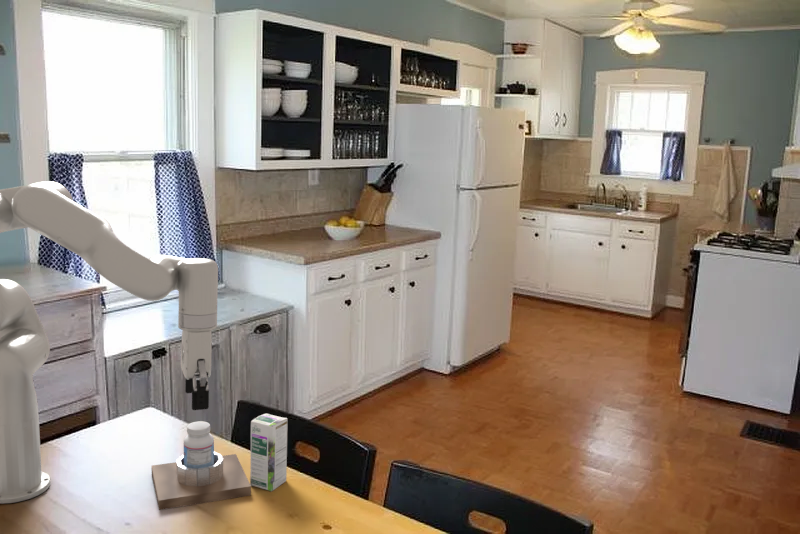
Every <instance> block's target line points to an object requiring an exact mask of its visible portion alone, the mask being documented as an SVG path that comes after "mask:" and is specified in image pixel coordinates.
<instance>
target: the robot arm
mask: <svg viewBox="0 0 800 534" xmlns="http://www.w3.org/2000/svg"><path fill="white" fill-rule="evenodd" d="M26 228H27V229H28V228H29V229H30V230H33V231H35V232H36V233H38V234H40V235H41V236H44V237H46V238H47V239H49V240H51V241H53V242H54V243H56V244H57V245H59V246H61V247H63V248H65V249H67V250H69V251H70V252H71V253H74V254H75V255H76V256H78V257H80V258H81V259H83V260H84V261H85V263H87V265H88V266H90V267H91V268H92V269H93V270H94V271H95V272H97V273H98V274H99V275H100V276H101V277H103V278H104V279H106V280H107V281H108V282H110V283H111V284H113V285H115V286H116V287H118V288H119V289H122V290H124V291H125V292H127V293H129V294H131V295H133V296H135V297H136V298H139V299H142V300H145V301H149V302H155V301H157V302H158V301H161V300H163V299H164V298H166V297H167V296H169V294H170V293H171V292H173V291H177V292H178V315H177V316H178V321H177V322H178V323H177V324H178V325H177V326H178V329H180V330H182V332H181V346H180V347H181V349H180V350H181V351H180V369H181V371H182V374H183V376H184V378H185V381H184V382H185V385H184V388H185V390H184V391H185V393H186V394H191V409H192V411H201V410H202V411H203V410H208V409H209V406H210V405H209V404H210V402H209V401H210V398H209V396H210V389H209V380H208V379H209V378H210V377H211V374H212V352H213V351H212V343H213V342H212V338H213V337H212V331H213V330H216V329H217V328H218V293H219V292H218V289H219V288H218V287H219V284H218V283H219V267H218V263H217V262H216V261H215V260H213V259H210V258H207V257H206V258H205V257H204V258H202V257H192V258H191V257H190V258H185V257H180V256H174V255H167V254H156V255H153V256H151V257H149V258H147V257H146V256H144V255H142V254H141V253H139V252H137V251H136V250H134V249H132V248H131V247H129V246H127V245H126V244H125V242H122V240H120V238H119V237H118V236H117V235H116V234H115V232H114V230H113V228H112V227H111V225H110V223H109V222H108V221H107V220H106V219H105V218H103V217H102V216H100V215H98V214H97V213H95V212H93V211H91V210H89V209H88V208H86V207H84V206H82V205H81V204H79V203H77V202H76V201H74V199H73V196H72V194H71V193H70V191H69V190H68V189H67V188H66V187H65V186H64V185H62V184H61V183H59V182H56V181H51V180H50V181H49V180H47V181H46V180H45V181H44V180H43V181H37V182H34V183H33V182H32V183H29V184H25V185H19V186H14V187H8V188H1V189H0V234H2V233H4V232H5V233H6V232H11V231H16V230H21V229H26ZM45 330H46V329H45V328H44V326H43V323H42V321H41V319H40V316H39V314H38V311H37V309H36V306H35V305H34V302H33V300H32V298H31V296H30V294H29V293H28V291H27V290H26V289H25V288H24V287H23V286H22V285H21V284H19V283H18V282H16V281H15V280H11V279H8V278H7V279H6V278H0V504H12V503H19V502H24V501H26V500H30V499H33V498H35V497H37V496H39V495H41V494H43V493H44V492H45V491H46V490H48V489H49V488H50V486H51V477H50V474H48V473H47V472H44V471H42V456H41V455H42V453H41V439H40V438H41V437H40V435H41V434H40V417H39V403H38V395H37V391H36V389H35V384H34V380H33V379H34V378H33V376H34V374H35V373H36V372H37V371H38V370H39V369H40V368H41V367H42V366H43V365H44V364H45V363H46V362H47V360H48V358H49V356H50V353H51V352H50V351H51V346H50V345H51V344H50V341H49V337H48V334H47V332H46V331H45Z"/></svg>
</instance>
